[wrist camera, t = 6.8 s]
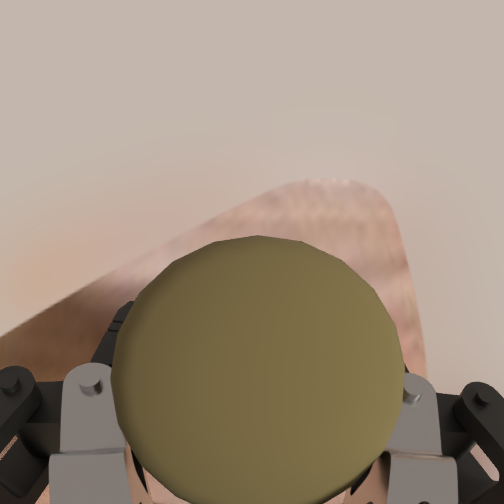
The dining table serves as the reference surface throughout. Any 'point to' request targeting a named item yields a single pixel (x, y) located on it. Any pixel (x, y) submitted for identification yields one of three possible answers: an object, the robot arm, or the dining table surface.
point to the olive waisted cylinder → (257, 374)
